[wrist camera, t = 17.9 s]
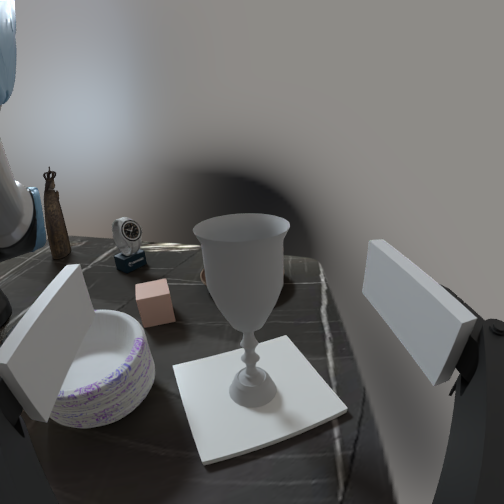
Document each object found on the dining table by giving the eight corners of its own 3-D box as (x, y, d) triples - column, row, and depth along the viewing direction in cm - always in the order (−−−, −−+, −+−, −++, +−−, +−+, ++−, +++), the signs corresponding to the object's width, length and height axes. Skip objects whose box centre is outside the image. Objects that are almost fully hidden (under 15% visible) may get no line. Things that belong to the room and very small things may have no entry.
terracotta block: (144, 328, 42) (136, 300, 40) (142, 311, 46) (135, 284, 44) (175, 321, 43) (169, 293, 41) (171, 305, 47) (165, 278, 46)
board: (203, 465, 21) (202, 462, 21) (174, 370, 33) (172, 365, 33) (346, 412, 26) (347, 408, 26) (286, 339, 38) (286, 335, 38)
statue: (78, 250, 73) (58, 163, 63) (57, 261, 68) (33, 171, 57) (67, 246, 78) (48, 166, 67) (47, 256, 72) (26, 174, 62)
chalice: (290, 371, 32) (293, 213, 25) (283, 417, 26) (285, 243, 19) (227, 365, 33) (209, 213, 26) (210, 408, 27) (177, 240, 20)
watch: (132, 275, 58) (121, 224, 54) (113, 267, 62) (103, 220, 58) (152, 265, 62) (143, 216, 58) (132, 258, 67) (123, 213, 62)
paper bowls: (98, 343, 38) (81, 297, 35) (185, 374, 33) (172, 321, 30) (29, 408, 24) (-2, 360, 21) (114, 470, 20) (77, 424, 17)
